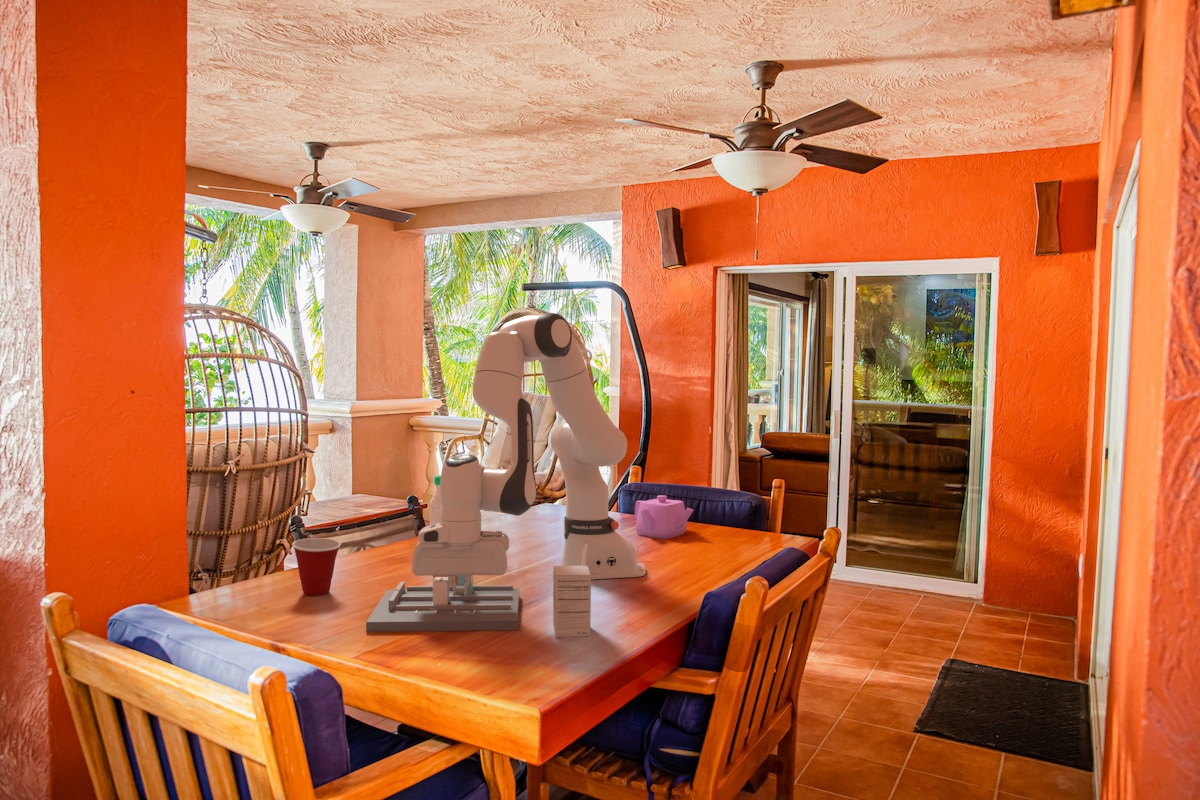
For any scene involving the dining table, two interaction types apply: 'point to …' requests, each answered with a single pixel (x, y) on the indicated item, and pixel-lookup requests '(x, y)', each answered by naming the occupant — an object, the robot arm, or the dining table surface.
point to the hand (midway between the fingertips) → (460, 595)
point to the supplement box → (571, 601)
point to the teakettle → (661, 517)
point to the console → (445, 610)
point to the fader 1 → (440, 591)
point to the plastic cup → (316, 564)
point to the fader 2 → (462, 582)
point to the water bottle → (436, 503)
